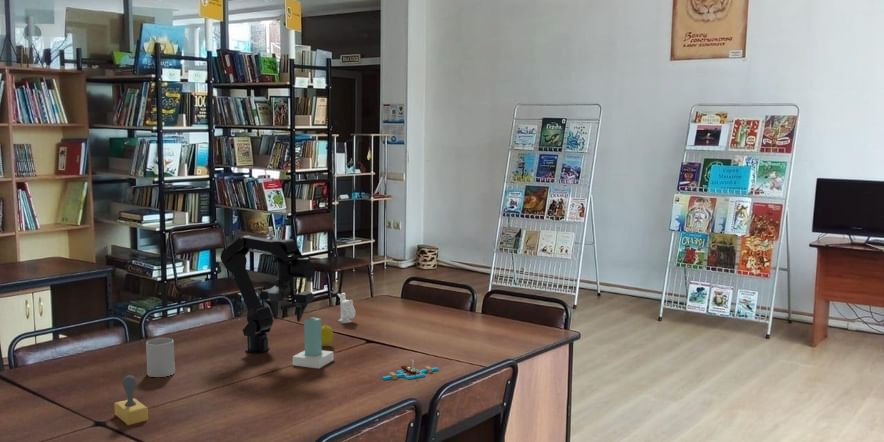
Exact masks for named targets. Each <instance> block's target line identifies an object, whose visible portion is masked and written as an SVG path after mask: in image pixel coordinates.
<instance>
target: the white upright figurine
mask: <svg viewBox="0 0 884 442" xmlns="http://www.w3.org/2000/svg"><path fill="white" fill-rule="evenodd" d="M337 297H338V298H339V299H340V300H339V303H340V318H339V319H338V320H337V322H339V323H341V324H349V323H352V322H353V321H352V319H353V318H355V316H356V309H355V307H354V300H352V299H350V300H349V299H347V298H346V292H342V293H337Z"/></svg>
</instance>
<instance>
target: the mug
mask: <svg viewBox="0 0 884 442" xmlns="http://www.w3.org/2000/svg"><path fill="white" fill-rule="evenodd" d="M174 343H175V342H174V339H173V338H169V337H157V338H152V339H149V340H146V343H145V349H146V351H145V353H146V375H148V376H151V377H164V376H169V377H171V376H170V375H172V376H173V374H174V375H175V374H176V373H175V372H176V366H175V365H176V363H175V362H176V360H175V344H174ZM148 376H147V377H148Z"/></svg>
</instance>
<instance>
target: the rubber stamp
mask: <svg viewBox="0 0 884 442" xmlns="http://www.w3.org/2000/svg"><path fill="white" fill-rule="evenodd" d="M136 380H137V379H136V377H135V376H134V375H130V374H128V375H126V376H125V377H123V380H122V386H123V390H124V392H125V394H126V396H127V399H126V400H122V401H120V400H119V401H116V402H114V404H113V405H114V415H115V416H116V417H118V418H119V420H121V421H122V422H124V423H125V424H126V426H130V425H133V424H137V423H141V422H145V421H149V409H148V407H147V406H146V405H144V404H143V403H141V402H140V400H138V399H136V398H133V396H134V393H135V391H136V388H137V381H136Z"/></svg>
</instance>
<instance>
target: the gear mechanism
mask: <svg viewBox="0 0 884 442" xmlns="http://www.w3.org/2000/svg"><path fill="white" fill-rule="evenodd" d="M411 363H412V364H411V367H410V366H407V365H401V366H400V369H399V370H397V371H396V373H395V372H394V371H390V372H389V373H388V375H386V376H385V375H384V376H382V380H384V381H385V380H397V378H401V377H403V378H404V379H406V380H412V379H417V378H424V377H425V376H426V374H425V373H428V374H431V373H433V372H436V371H439V369H440V368H439V367H436V366H435V367H431V366H429V365H427V366H424V369H417V368H415V367H414V363H415V362H414V360H412V362H411Z"/></svg>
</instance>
